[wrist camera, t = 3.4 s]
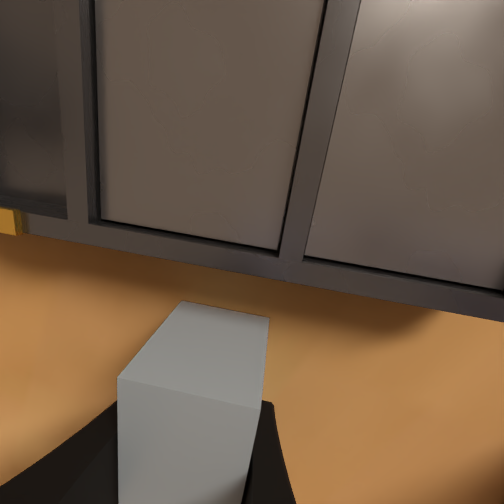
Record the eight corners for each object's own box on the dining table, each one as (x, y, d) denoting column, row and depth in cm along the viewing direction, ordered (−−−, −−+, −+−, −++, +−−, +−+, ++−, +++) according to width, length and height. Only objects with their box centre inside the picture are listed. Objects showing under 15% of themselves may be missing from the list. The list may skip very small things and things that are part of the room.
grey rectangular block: (243, 447, 12) (224, 580, 8) (172, 430, 12) (119, 550, 8) (269, 317, 10) (260, 410, 6) (181, 300, 10) (116, 377, 6)
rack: (466, 290, 8) (539, 334, 6) (-154, 178, 10) (-291, 178, 8) (652, -129, 5) (946, -374, 3) (-270, -188, 7) (-550, -373, 5)
